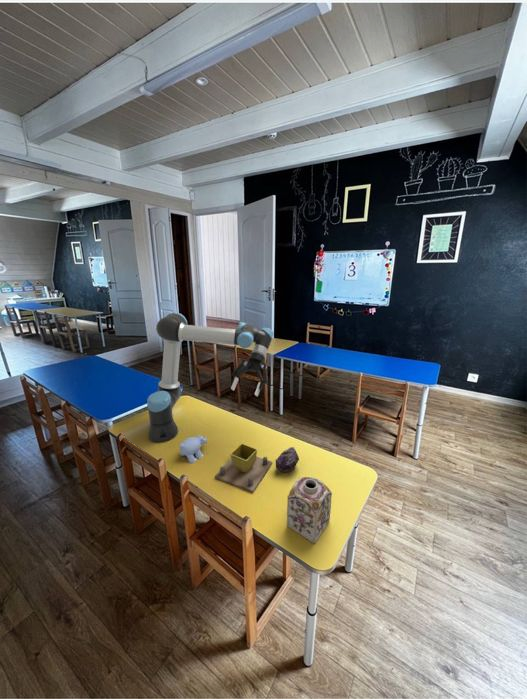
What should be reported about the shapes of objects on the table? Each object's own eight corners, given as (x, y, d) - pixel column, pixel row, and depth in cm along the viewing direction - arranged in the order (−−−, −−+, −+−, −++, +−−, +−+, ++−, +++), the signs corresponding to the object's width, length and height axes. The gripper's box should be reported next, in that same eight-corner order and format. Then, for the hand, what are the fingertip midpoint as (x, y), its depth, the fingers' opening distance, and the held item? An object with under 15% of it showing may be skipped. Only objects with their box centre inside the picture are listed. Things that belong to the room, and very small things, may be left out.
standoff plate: (214, 478, 123) (214, 470, 122) (237, 452, 139) (237, 445, 138) (253, 493, 115) (252, 484, 114) (272, 463, 131) (272, 456, 130)
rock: (273, 470, 129) (290, 481, 122) (271, 456, 125) (288, 466, 119) (288, 454, 136) (306, 464, 130) (287, 441, 133) (304, 449, 126)
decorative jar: (330, 521, 103) (334, 481, 97) (315, 545, 94) (318, 503, 88) (302, 504, 110) (303, 466, 104) (285, 525, 101) (286, 485, 95)
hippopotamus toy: (213, 450, 141) (211, 434, 138) (187, 466, 130) (185, 449, 127) (199, 442, 148) (198, 426, 145) (174, 456, 137) (172, 440, 134)
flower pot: (247, 478, 121) (246, 460, 118) (230, 470, 126) (229, 453, 123) (257, 465, 128) (257, 449, 126) (242, 459, 133) (241, 443, 130)
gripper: (282, 362, 145) (268, 400, 137) (240, 354, 156) (226, 389, 148) (278, 355, 139) (263, 395, 131) (235, 348, 150) (219, 384, 142)
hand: (243, 392), depth 139 cm, fingers open, 13 cm apart
